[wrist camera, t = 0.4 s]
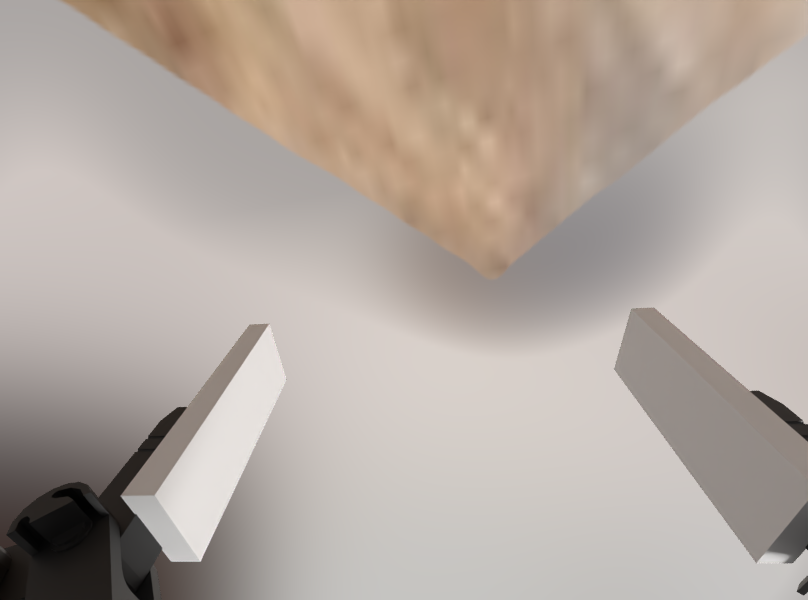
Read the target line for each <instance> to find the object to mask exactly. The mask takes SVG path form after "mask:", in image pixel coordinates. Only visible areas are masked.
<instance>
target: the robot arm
mask: <svg viewBox="0 0 808 600" xmlns="http://www.w3.org/2000/svg"><path fill="white" fill-rule="evenodd" d="M614 369H615V371H616V372H617V374H618V375H619V376H620V378H621V379H622V380H623V382H624V383H625V385H626V386H627V387H628V389H629V390H630V391H631V393H632V394H633V395H634V397H635V398H636V399H637V401H638V402H639V404H640V405H641V406H642V408H643V409H644V411H645V412H646V413H647V415H648V416H649V417H650V419H651V420H652V421H653V423H654V424H655V425H656V427H657V428H658V430H659V431H660V432H661V434H662V435H663V436H664V438H665V439H666V441H667V442H668V443H669V445H670V446H671V447H672V449H673V450H674V451H675V453H676V454H677V455H678V457H679V458H680V459H681V461H682V462H683V464H684V465H685V466H686V468H687V469H688V471H689V472H690V473H691V475H692V476H693V477H694V479H695V480H696V481H697V483H698V484H699V485H700V487H701V488H702V490H703V491H704V492H705V494H706V495H707V496H708V498H709V499H710V500H711V502H712V503H713V505H714V506H715V507H716V509H717V510H718V511H719V513H720V514H721V515H722V517H723V518H724V520H725V521H726V522H727V523H728V525H729V526H730V528H731V529H732V530H733V532H734V533H735V535H736V536H737V537H738V539H739V540H740V541H741V543H742V544H743V545H744V547H745V548H746V550H747V551H748V552H749V554H750V555H751V556H752V558H753V559H754V560H755V562H756V563H793V562H794V561H795V560H796V559H797V558H798V557H799V556H800V555H801V554H802V552H803V551H804V550H805V549H807V550H808V424H804V423H803V420H802V419H800V418H799V417H798V416H797V415H796V414H794V413H793V412H792V411H791V410H789V409H788V408H787V407H786V406H785V405H783V404H782V403H780V402H778V401H776V400H774V399H773V398H771V397H769V396H767V395H765V394H764V393H762V392H760V391H749V390H748V389H747V388H745V387H744V386H743V385H742V384H741V383H740V382H738V381H737V380H736V379H735V378H734V377H733V376H732V375H731V374H729V373H728V372H727V371H726V370H725V369H724V368H723V367H721V366H720V365H719V364H718V363H717V362H715V360H713V359H712V358H711V357H710V356H709V355H708V354H706V353H705V352H704V351H703V350H702V349H701V348H699V347H698V346H697V345H696V344H695V343H694V342H693V341H692V340H690V339H689V338H688V337H687V336H686V335H685V334H684V333H682V332H681V331H680V330H679V329H678V328H677V327H676V326H674V325H673V324H672V323H671V322H670V321H669V320H667V319H666V318H665V317H664V316H663V315H662V314H661V313H659V312H658V311H657V310H656V309H655V308H636V309H631V312H630V315H629V319H628V323H627V326H626V329H625V333H624V336H623V340H622V343H621V347H620V350H619V354H618V358H617V361H616V365H615V368H614ZM285 381H286V377H285V373H284V370H283V367H282V364H281V360H280V357H279V354H278V350H277V348H276V344H275V341H274V338H273V334H272V331H271V328H270V325H269V324H258V325H257V324H254V325H249V326H248V328H247V329H246V330H245V332H244V333H243V334H242V335H241V337H240V338H239V339H238V341H237V342H236V343H235V345H234V346H233V347H232V349H231V350H230V352H229V353H228V354H227V355H226V357H225V358H224V359H223V361H222V362H221V363H220V365H219V366H218V367H217V369H216V370H215V371H214V373H213V374H212V375H211V377H210V378H209V380H208V381H207V382H206V383H205V385H204V386H203V387H202V389H201V390H200V391H199V392H198V394H197V395H196V397H195V398H194V399H193V400H192V402H191V403H190V404H189V406H188V407H178V408H176V409H175V410H174V411H172V412H171V413H170V414H169V415H167V416H166V417H165V418H164V419H163V420H161V421H160V422H159V423H158V425H157V426H156V427H155V428H154V430H153V431H152V432H151V433H150V435H149V436H148V439H146V440H145V441H144V442H143V443H142V445H141V446H140V447H139V448H138V452H135V453H134V454H133V456H132V457H131V458H130V459H129V461H128V462H127V463H126V464H125V466H124V467H123V468H122V469H121V471H120V472H119V473H118V474H117V476H116V477H115V478H114V479H113V481H112V482H111V483H110V484H109V485H108V487H107V488H106V489H105V490H104V492H103V493H102V494H101V495H100V497H99V498H98V497H97V495H96V494H95V493H94V492H93V491H92V489H91V488H90V487H89V486H88V485H86V484H84V483H81V482H76V483H68V484H65V485H63V486H60V487H57V488H55V489H53V490H51V491H49V492H47V493H46V494H44V495H42V496H41V497H39V498H37V499H36V500H35V501H34V502H32V503H31V504H30V505H29V506H28V507H26V508H25V509H24V510H23V511H22V512H21V513H20V514H19V515H18V517H17V518H16V519H15V520H14V521H13V522H12V524H11V526H10V529H9V530H8V533H7V536H8V537H10V538H11V539H12V540H13V541H14V542H15V543H16V544H17V545H15V546H11V547H8V548H5V549H3V548H2V547H1V546H0V600H161V594H160V587H159V579H158V572H157V570H156V568H155V566H154V562H155V560H156V559H157V557H158V555H159V553H160V551H161V550H163V552H164V553H165V554H166V555H167V557H168V558H169V559H170V561H172V562H176V561H177V562H181V561H183V562H200V561H201V559H202V557H203V555H204V553H205V551H206V549H207V546H208V544H209V542H210V540H211V538H212V536H213V533H214V531H215V529H216V527H217V525H218V523H219V521H220V519H221V517H222V515H223V513H224V511H225V508H226V506H227V504H228V502H229V500H230V498H231V496H232V494H233V492H234V489H235V487H236V485H237V483H238V481H239V479H240V477H241V475H242V472H243V470H244V468H245V466H246V464H247V462H248V460H249V458H250V455H251V453H252V451H253V449H254V447H255V445H256V443H257V441H258V439H259V436H260V434H261V432H262V430H263V428H264V426H265V424H266V421H267V420H268V417H269V415H270V413H271V411H272V409H273V407H274V405H275V403H276V400H277V398H278V396H279V394H280V392H281V390H282V388H283V386H284V383H285ZM797 592H798V593H800V594H802V595H805V594H806V593H807V592H808V576H807V577H806V578H805V579H804V580H803V581H802V582H801V583H800V584H799V587H798V590H797Z"/></svg>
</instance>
